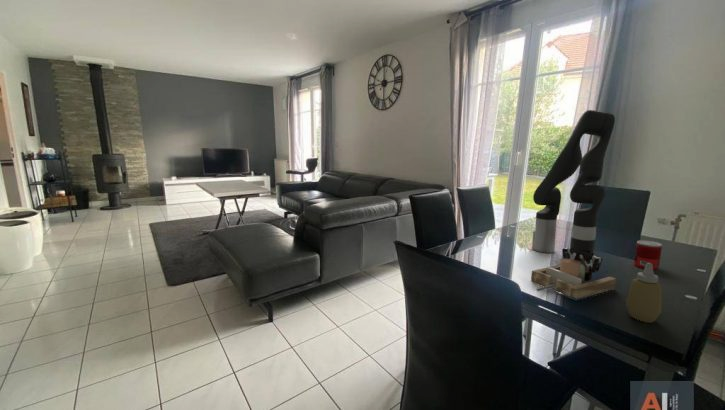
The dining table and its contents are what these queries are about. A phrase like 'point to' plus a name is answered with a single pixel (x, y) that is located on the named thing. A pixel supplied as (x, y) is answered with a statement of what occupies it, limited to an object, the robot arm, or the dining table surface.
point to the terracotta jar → (570, 267)
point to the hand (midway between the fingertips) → (579, 277)
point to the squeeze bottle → (645, 296)
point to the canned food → (647, 254)
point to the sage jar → (582, 272)
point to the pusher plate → (560, 278)
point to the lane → (570, 290)
